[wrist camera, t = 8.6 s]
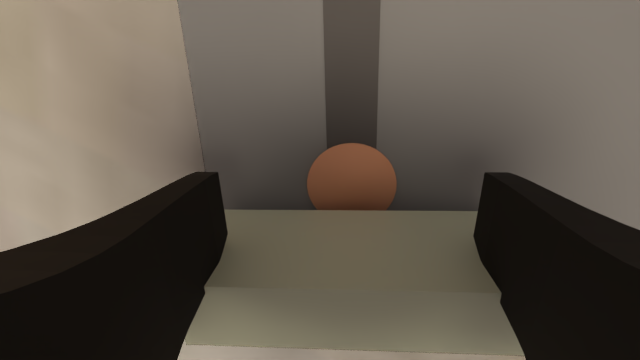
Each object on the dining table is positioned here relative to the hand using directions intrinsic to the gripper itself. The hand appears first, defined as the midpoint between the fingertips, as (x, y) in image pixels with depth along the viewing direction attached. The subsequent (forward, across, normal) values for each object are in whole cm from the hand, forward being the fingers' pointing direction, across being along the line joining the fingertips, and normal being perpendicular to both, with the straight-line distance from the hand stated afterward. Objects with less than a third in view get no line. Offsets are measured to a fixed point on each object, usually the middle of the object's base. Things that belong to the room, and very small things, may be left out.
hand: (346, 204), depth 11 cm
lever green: (+2, 0, +2) cm, 3 cm away
